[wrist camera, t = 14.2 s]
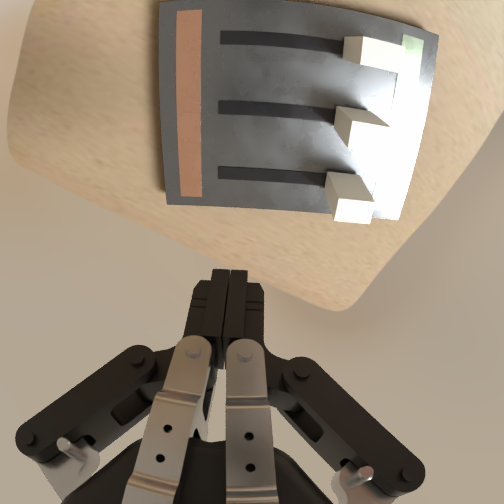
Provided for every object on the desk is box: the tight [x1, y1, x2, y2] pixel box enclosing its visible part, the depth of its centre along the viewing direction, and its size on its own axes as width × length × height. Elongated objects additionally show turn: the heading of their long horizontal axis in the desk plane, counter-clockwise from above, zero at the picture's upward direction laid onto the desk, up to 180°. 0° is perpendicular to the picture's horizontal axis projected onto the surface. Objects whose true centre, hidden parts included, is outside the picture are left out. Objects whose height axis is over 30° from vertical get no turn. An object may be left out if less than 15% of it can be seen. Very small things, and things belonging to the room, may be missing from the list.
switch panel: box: [158, 0, 439, 220], centre depth 25 cm, size 19×23×2 cm
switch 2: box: [324, 171, 376, 224], centre depth 25 cm, size 2×3×5 cm, turn 87°
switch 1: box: [342, 36, 406, 74], centre depth 18 cm, size 2×3×5 cm, turn 87°
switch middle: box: [334, 106, 392, 154], centre depth 22 cm, size 2×3×5 cm, turn 87°
